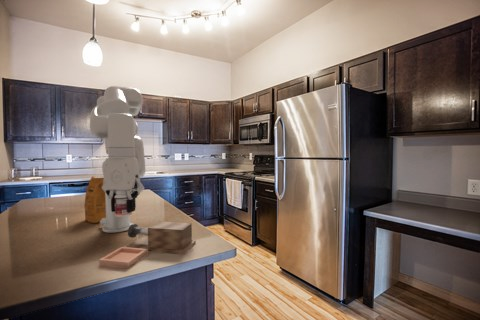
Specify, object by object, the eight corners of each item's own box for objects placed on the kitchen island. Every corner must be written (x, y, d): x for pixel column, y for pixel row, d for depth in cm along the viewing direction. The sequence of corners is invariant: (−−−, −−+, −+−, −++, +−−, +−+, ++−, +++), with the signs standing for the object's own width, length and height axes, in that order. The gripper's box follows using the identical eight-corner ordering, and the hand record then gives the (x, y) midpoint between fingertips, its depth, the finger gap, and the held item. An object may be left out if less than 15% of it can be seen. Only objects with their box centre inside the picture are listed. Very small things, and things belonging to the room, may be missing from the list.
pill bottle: (118, 213, 78) (118, 187, 78) (133, 213, 78) (133, 187, 78) (112, 217, 73) (111, 190, 73) (128, 216, 73) (127, 189, 73)
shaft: (128, 239, 87) (127, 226, 87) (136, 234, 91) (136, 222, 91) (160, 241, 84) (160, 228, 84) (167, 237, 89) (167, 224, 89)
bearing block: (125, 249, 84) (125, 227, 84) (142, 239, 94) (142, 219, 94) (184, 254, 80) (183, 231, 79) (195, 243, 89) (195, 222, 89)
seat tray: (99, 265, 72) (98, 259, 72) (121, 251, 82) (121, 246, 82) (128, 268, 70) (128, 262, 70) (148, 254, 80) (147, 248, 80)
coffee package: (102, 215, 129) (101, 175, 128) (113, 219, 122) (112, 176, 121) (81, 220, 121) (80, 177, 120) (92, 224, 114) (91, 178, 113)
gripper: (89, 154, 73) (91, 213, 74) (138, 153, 70) (140, 215, 70) (107, 153, 80) (109, 207, 81) (153, 153, 77) (154, 209, 78)
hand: (123, 210), depth 76 cm, fingers closed on pill bottle, 4 cm apart
